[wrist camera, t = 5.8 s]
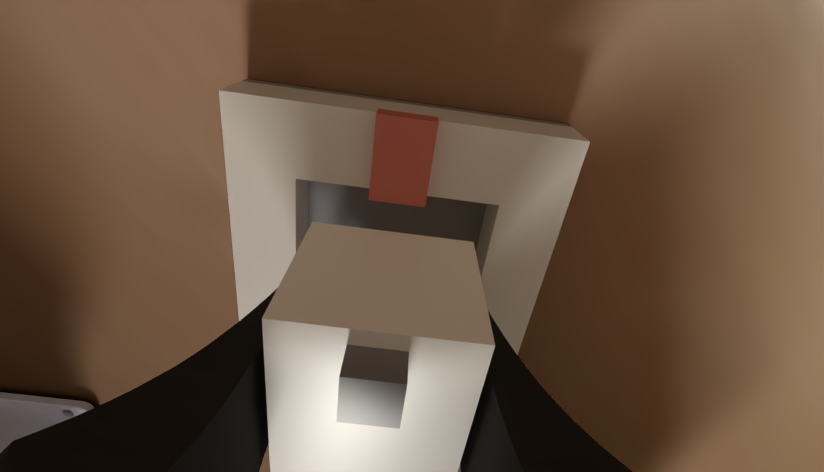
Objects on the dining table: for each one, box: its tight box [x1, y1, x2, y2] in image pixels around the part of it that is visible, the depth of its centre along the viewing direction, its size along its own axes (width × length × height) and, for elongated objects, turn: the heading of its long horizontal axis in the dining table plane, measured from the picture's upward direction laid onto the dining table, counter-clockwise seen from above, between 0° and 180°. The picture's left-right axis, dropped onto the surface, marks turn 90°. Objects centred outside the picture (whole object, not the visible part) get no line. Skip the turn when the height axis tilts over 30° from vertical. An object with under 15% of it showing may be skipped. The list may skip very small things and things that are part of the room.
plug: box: [262, 222, 495, 472], centre depth 11 cm, size 4×5×6 cm
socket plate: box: [219, 79, 590, 355], centre depth 14 cm, size 10×11×3 cm
